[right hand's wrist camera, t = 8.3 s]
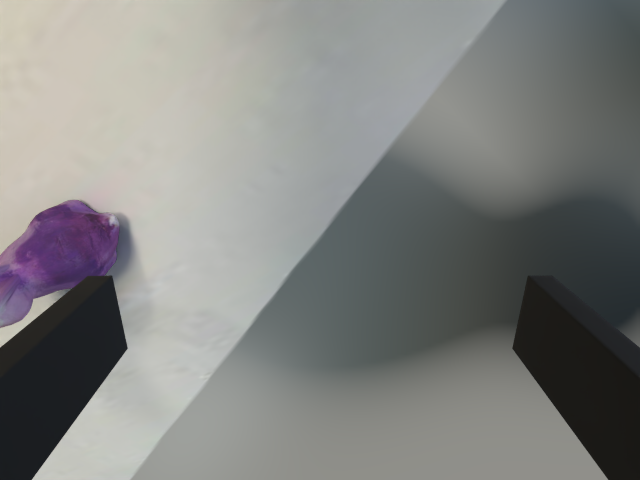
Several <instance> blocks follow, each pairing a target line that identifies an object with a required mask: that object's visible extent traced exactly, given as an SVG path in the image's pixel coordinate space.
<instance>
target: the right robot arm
mask: <svg viewBox="0 0 640 480" xmlns="http://www.w3.org/2000/svg"><path fill="white" fill-rule="evenodd" d="M127 349H128V348H127V343H126V339H125V334H124V329H123V325H122V320H121V315H120V311H119V306H118V301H117V296H116V292H115V287H114V282H113V278H112V276H87V277H86V278H85V279H83V280H82V281H81V282H80V283H78V284H77V285H76V286H75V287H74V288H72V289H71V290H70V291H69V292H68V293H66V294H65V295H64V296H63V297H61V298H60V299H59V300H58V301H57V302H55V303H54V304H53V305H52V306H50V307H49V308H48V309H47V310H46V311H44V312H43V313H42V314H41V315H40V316H38V317H37V318H36V319H35V320H33V321H32V322H31V323H30V324H29V325H27V326H26V327H25V328H24V329H22V330H21V331H20V332H19V333H18V334H16V335H15V336H14V337H13V338H12V339H10V340H9V341H8V342H7V343H5V344H4V345H3V346H2V347H1V348H0V480H32V479H33V477H34V476H35V474H36V473H37V472H38V470H39V469H40V468H41V466H42V465H43V463H44V462H45V461H46V459H47V458H48V457H49V455H50V454H51V453H52V451H53V450H54V448H55V447H56V446H57V444H58V443H59V442H60V440H61V439H62V437H63V436H64V435H65V433H66V432H67V431H68V429H69V428H70V427H71V425H72V424H73V422H74V421H75V420H76V418H77V417H78V416H79V414H80V413H81V411H82V410H83V409H84V407H85V406H86V405H87V403H88V402H89V401H90V399H91V398H92V396H93V395H94V394H95V392H96V391H97V390H98V388H99V387H100V385H101V384H102V383H103V381H104V380H105V379H106V377H107V376H108V375H109V373H110V372H111V370H112V369H113V368H114V366H115V365H116V364H117V362H118V361H119V359H120V358H121V357H122V355H123V354H124V353H125V351H126V350H127ZM513 350H514V351H515V353H516V354H517V355H518V357H519V358H520V359H521V361H522V362H523V364H524V365H525V366H526V368H527V369H528V370H529V372H530V373H531V374H532V376H533V377H534V379H535V380H536V381H537V383H538V384H539V385H540V387H541V388H542V390H543V391H544V392H545V394H546V395H547V396H548V398H549V399H550V400H551V402H552V403H553V405H554V406H555V407H556V409H557V410H558V411H559V413H560V414H561V416H562V417H563V418H564V420H565V421H566V422H567V424H568V425H569V427H570V428H571V429H572V431H573V432H574V433H575V435H576V436H577V437H578V439H579V440H580V442H581V443H582V444H583V446H584V447H585V448H586V450H587V451H588V452H589V454H590V455H591V457H592V458H593V459H594V461H595V462H596V463H597V465H598V466H599V468H600V469H601V470H602V472H603V473H604V474H605V476H606V477H607V478H608V480H640V348H639V347H638V346H637V345H636V344H635V343H633V342H632V341H631V340H630V339H628V338H627V337H626V336H625V335H624V334H622V333H621V332H620V331H619V330H618V329H616V328H615V327H614V326H613V325H611V324H610V323H609V322H608V321H607V320H605V319H604V318H603V317H602V316H600V315H599V314H598V313H597V312H596V311H594V310H593V309H592V308H591V307H590V306H588V305H587V304H586V303H585V302H583V301H582V300H581V299H580V298H579V297H577V296H576V295H575V294H574V293H572V292H571V291H570V290H569V289H568V288H566V287H565V286H564V285H563V284H562V283H560V282H559V281H558V280H557V279H555V278H554V277H553V276H528V278H527V282H526V287H525V292H524V296H523V301H522V306H521V311H520V315H519V320H518V325H517V329H516V334H515V339H514V344H513Z"/></svg>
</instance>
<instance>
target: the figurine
mask: <svg viewBox="0 0 640 480" xmlns="http://www.w3.org/2000/svg"><path fill="white" fill-rule="evenodd" d="M118 237H119V222H118V219H117V218H116V217H115V215H113V214H112V213H97V212H95V211H93V210H92V209H90V208H89V207H87V206H86V205H85V204H84V203H82V202H81V201H78V200H69V201H66V202H63V203H61V204H59V205H57V206H54V207H52V208H49V209H47V210H45V211H43V212H41V213H39V214H37V215H36V216H35V217H34V219H33V220H32V221H31V223H30V224H29V226H28V228H27V230H26V231H25V232H24V234H23V235H22V236H21V237H19V238H18V239H17V240H16V241H15V242H13V243H12V244H11V245H10V246H9V247H8V248H7V249H6V250H5V251H4V252H3V253H2V254H1V255H0V328H1V327H5V326H9V325H12V324H14V323H16V322H19V321H21V320H22V319H23V318H24V317H25V316H26V315H27V314H28V312H29V311H30V309H31V306H32V302H33V299H34V298H38V297H42V296H45V295H48V294H50V293H53V292H55V291H58V290H63V289H69V288H74V287H75V286H76V285H77V284H78V283H80V282H81V281H82V280H83V279H85V278H86V277H87V276H104V275H105V274H106V273H107V272H108V270H109V269H110V268H111V267H112V265H113V264H114V263H115V262H116V259H117V252H116V247H117V244H118Z"/></svg>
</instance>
